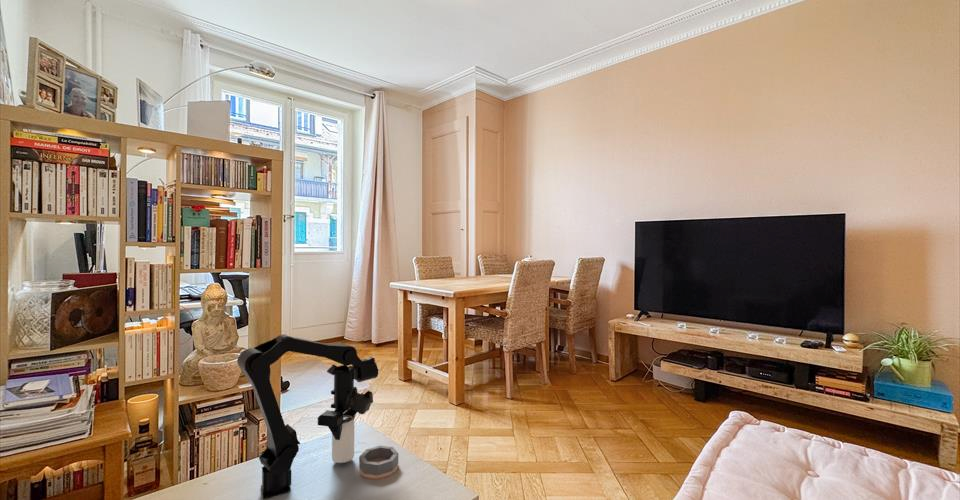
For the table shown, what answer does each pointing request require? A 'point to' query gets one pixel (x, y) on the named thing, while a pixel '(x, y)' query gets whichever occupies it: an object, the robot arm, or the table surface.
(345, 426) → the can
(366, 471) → the socket
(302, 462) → the table surface
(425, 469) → the table surface
